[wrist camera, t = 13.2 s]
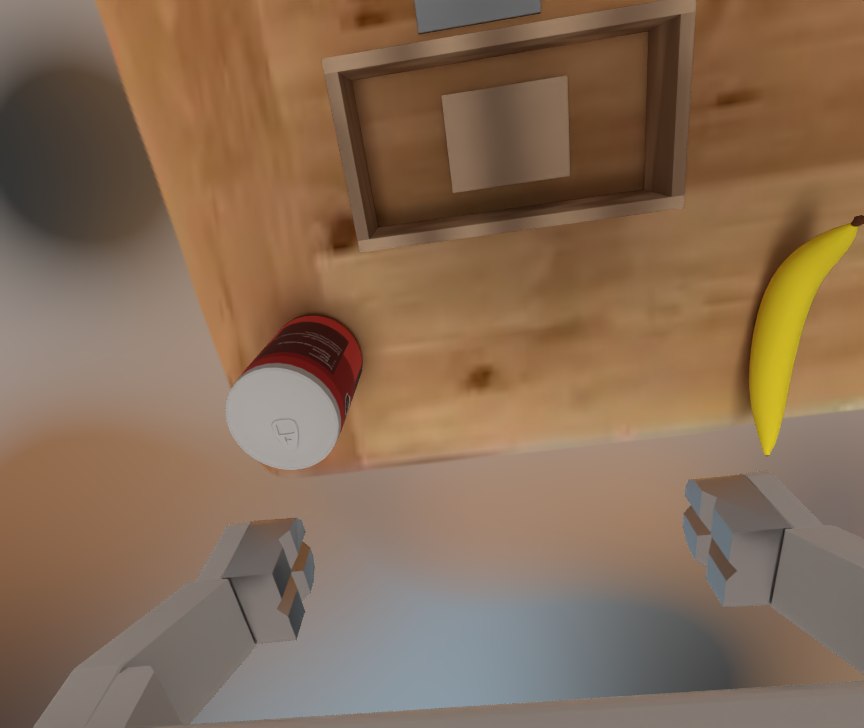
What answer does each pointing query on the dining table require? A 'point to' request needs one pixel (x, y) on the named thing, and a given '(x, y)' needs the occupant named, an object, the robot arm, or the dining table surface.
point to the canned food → (296, 394)
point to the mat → (469, 12)
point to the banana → (788, 325)
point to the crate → (524, 123)
